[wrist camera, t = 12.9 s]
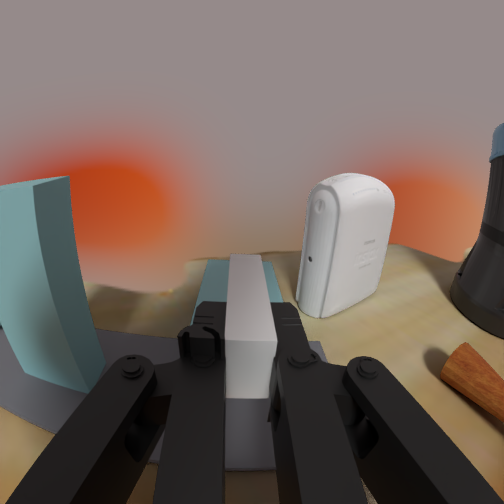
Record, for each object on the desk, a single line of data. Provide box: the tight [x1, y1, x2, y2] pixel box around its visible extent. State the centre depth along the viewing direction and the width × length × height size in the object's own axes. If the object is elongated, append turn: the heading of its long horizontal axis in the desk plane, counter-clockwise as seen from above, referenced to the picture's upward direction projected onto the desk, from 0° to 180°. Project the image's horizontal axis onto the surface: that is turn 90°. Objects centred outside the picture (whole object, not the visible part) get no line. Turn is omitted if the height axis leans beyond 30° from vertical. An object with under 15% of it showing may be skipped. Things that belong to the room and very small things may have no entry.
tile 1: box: [190, 259, 283, 326], centre depth 21 cm, size 6×3×12 cm
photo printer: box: [296, 173, 395, 318], centre depth 24 cm, size 10×4×12 cm, turn 124°
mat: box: [0, 325, 328, 471], centre depth 14 cm, size 36×10×1 cm, turn 92°
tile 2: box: [0, 176, 106, 394], centre depth 11 cm, size 6×3×12 cm, turn 93°
